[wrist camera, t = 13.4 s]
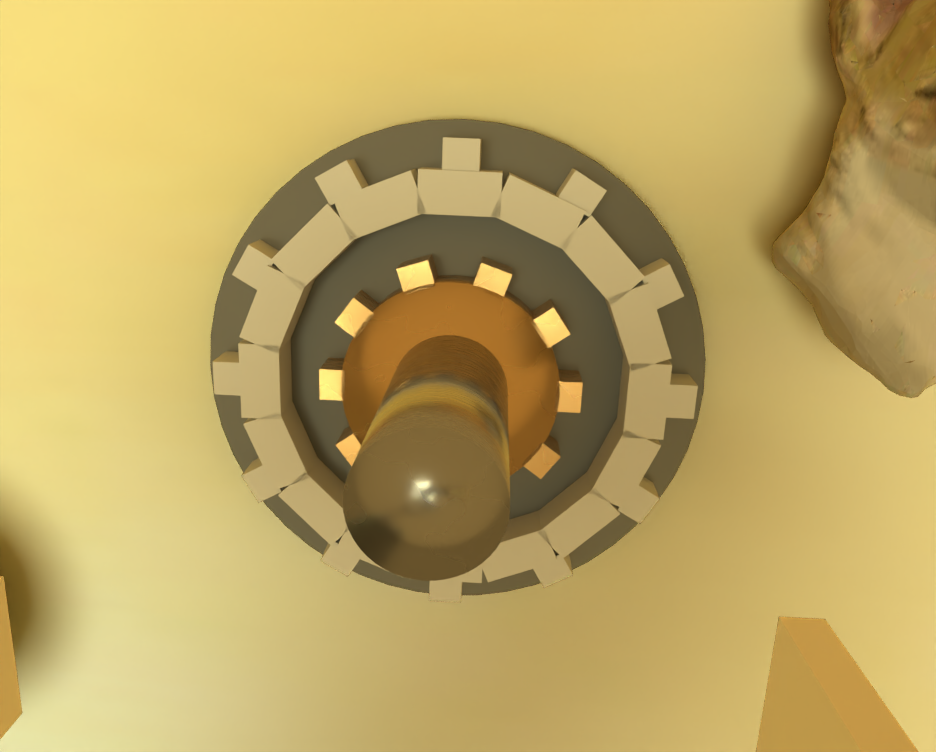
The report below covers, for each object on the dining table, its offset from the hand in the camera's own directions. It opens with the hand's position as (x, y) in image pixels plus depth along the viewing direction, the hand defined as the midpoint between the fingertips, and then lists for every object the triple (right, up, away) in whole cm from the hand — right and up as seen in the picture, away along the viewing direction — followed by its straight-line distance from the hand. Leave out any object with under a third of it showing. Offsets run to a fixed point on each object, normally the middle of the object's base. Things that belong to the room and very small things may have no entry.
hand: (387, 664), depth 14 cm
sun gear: (+1, +5, +15) cm, 16 cm away
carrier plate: (+1, +5, +16) cm, 17 cm away
